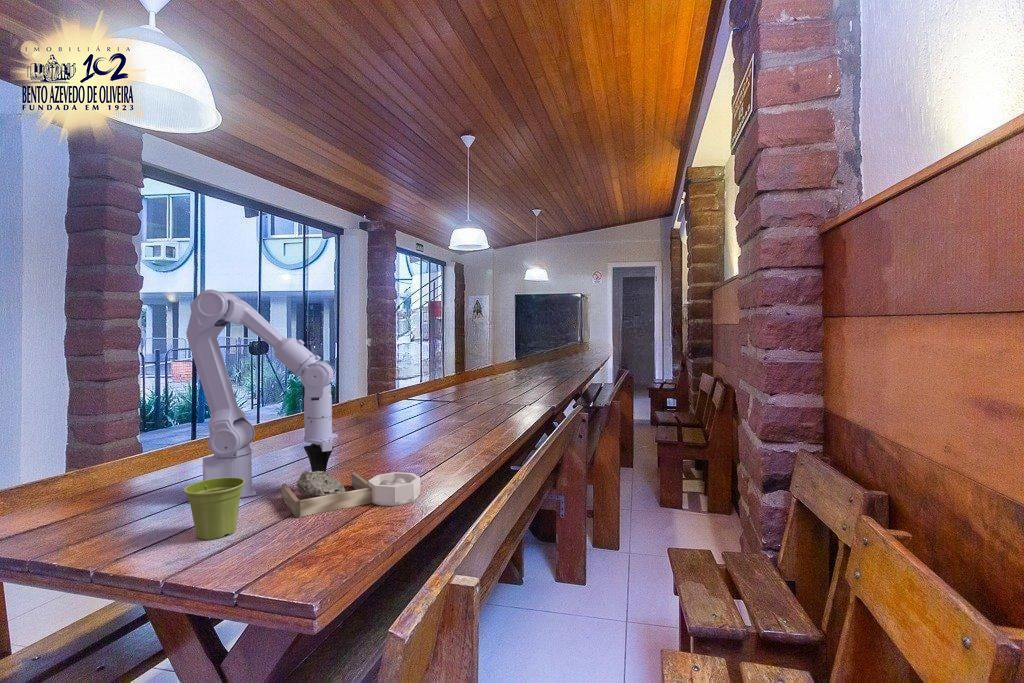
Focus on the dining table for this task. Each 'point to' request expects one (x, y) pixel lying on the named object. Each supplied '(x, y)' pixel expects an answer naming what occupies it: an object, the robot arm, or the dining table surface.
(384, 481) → the pebble
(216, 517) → the plant pot
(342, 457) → the dining table surface
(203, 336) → the robot arm
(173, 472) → the dining table surface
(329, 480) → the rock sample
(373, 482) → the bowl
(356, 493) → the tray frame
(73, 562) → the dining table surface
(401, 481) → the pebble
